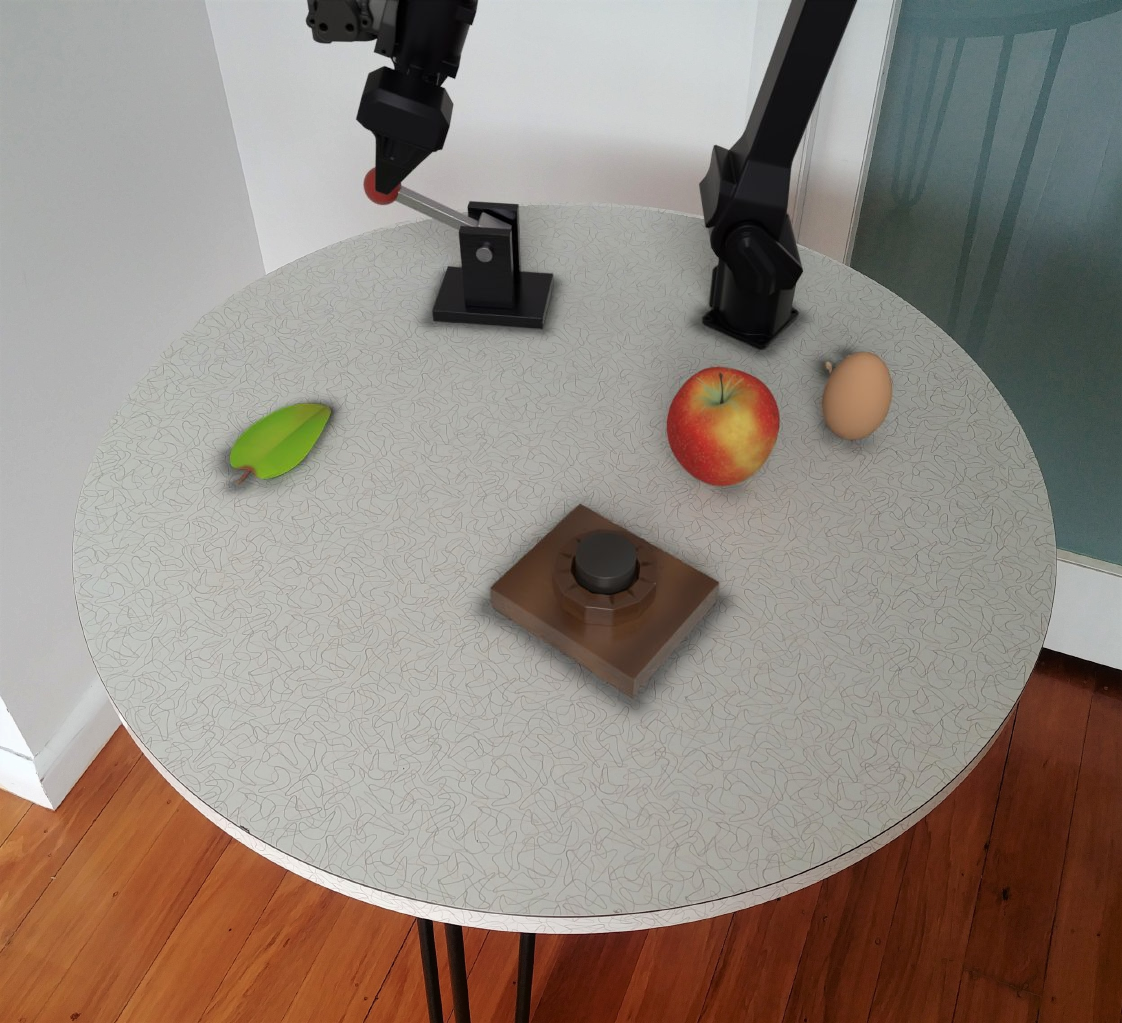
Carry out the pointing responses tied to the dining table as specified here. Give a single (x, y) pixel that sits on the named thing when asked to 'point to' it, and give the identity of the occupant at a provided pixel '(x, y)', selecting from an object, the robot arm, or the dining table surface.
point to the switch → (427, 206)
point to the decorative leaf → (279, 440)
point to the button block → (605, 603)
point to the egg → (857, 396)
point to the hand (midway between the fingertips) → (389, 162)
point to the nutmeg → (829, 366)
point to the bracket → (493, 276)
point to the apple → (722, 425)
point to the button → (605, 563)
